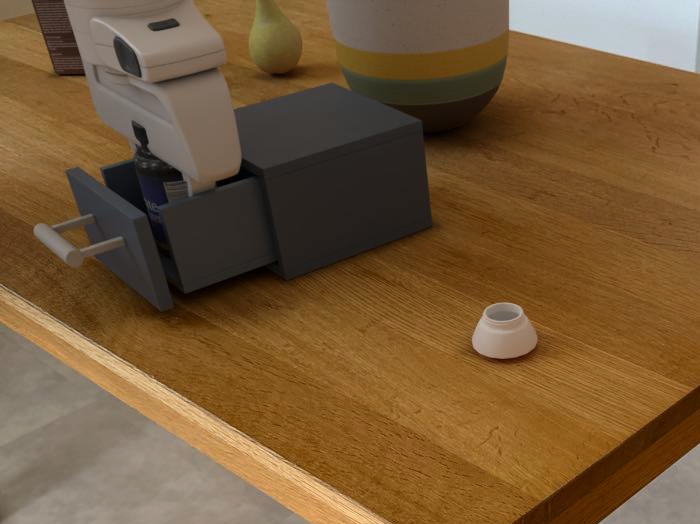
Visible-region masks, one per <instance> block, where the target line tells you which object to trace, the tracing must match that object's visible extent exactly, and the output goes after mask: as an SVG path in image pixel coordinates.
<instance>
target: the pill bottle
mask: <svg viewBox="0 0 700 524" xmlns="http://www.w3.org/2000/svg"><path fill="white" fill-rule="evenodd" d="M131 123H132V127H133V131H134V135H135V137H136V139H137V140H138V141H139V142H140V144H141V147H139V148H138V149H137V151H136V153H135V154H134V156H133V158H134V166H135V169H136V173H137V176H138V179H139V183H140V186H141V190H142V193H143V197H144V200H145V203H146V207H147V210H148V214H149V217H150V221H151V224H152V227H153V231H154V234H155V238H156V241H157V244H158V248H159V249H160V251H161V252H162V253H163V254H165V255H166V256H169V257H171V255H170V251H169V248H168V244H167V241H166V237H165V234H164V230H163V227H162V223H161V220H160V217H159V213H158V210H157V206H160V205H164V204H167V203H170V202H173V201H176V200H180V199H183V198H185V197H186V196H188V186H187V182H186V181H184V179H183V176H182V172H180V171H179V170H177V169H176V168H174V167H172V166H171V165H169V164H168V163H166V162H164V161H163V160H161V159H159V158H158V157H156V156H155V155H153V154H152V153H151V151H150V150H149V148H148V147H147V145H148V144H149V141H148V137H147V133H146V130H145V128H144V127H143V126H141V125H139V124H138V123H136V122H134V121H133V120H132V121H131ZM215 188H218V187H217V183H216V181H215V186H214V189H215Z"/></svg>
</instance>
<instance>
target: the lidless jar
mask: <svg viewBox="0 0 700 524" xmlns="http://www.w3.org/2000/svg"><path fill="white" fill-rule="evenodd" d="M538 339H539V338H538V334H537V331H536V329H535V327H534V326H533V324H532V323H531V320H530V319H529V317H528V316H527V315H526V314H525V312H524V309H523V308H522V307H521V306H519V305H518V304H515V303H513V302H496V303H493V304H490V305H489V306H488V305H487V307H486V308H485V309H484V310H483V313H482V316H481V317H480V319H479V321H478V323H477V325H476V327H475V330H474V331H473V333H472V335H471V343H472V348H473V349H474V350H475V351H476V352H477V353H478V354H480V355H483V356H485V357H487V358H492V359H500V360H501V359H502V360H504V359H513V358H518V357H521V356H524V355H526V354H528V353H530V352H531V351H532V350H534V349H535V348H536V346H537V344H538Z"/></svg>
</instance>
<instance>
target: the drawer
mask: <svg viewBox="0 0 700 524" xmlns="http://www.w3.org/2000/svg"><path fill="white" fill-rule="evenodd" d="M99 170H100V173H101V177H102V179H103V182H104V183H102V182H101V181H99V180H98V179H96V178H95V177H94V176H92V174H89V173H88V172H87V171H85V170H84V169H82V168H81V167H80V166H75V167H72V168H68V169H66V170H65V174H66V177H67V180H68V184H69V186H70V189H71V192H72V195H73V198H74V201H75V204H76V206H77V209H78V212H79V215H80V216H79V217H75V218H73V219H69V220H66V221H63V222H59V223H56V224H51V225H49V224H48V223H46V222H39V223H37V224H35V226H34V227H33V235H34V237H35V238H36V239H37V240H39V241H40V242H41V243H42V244H43V245H44V246H45V247H47V248H48V249H49V250H50V251H51V252H52V253H54V254H55V255H56V256H57V257H58V258H59V259H60V260H62V261H63V262H64V263H65V264H66V265H67V266H69V267H71V268H78V267H80V266H82V265H83V263H84V261H85V259H87V258H90V257H92V256H94V258H95V259H96V260H97V261H98V262H100V263H101V264H102V265H104V267H106V269H108V270H109V271H111V272H112V273H113V274H114V275H116V276H117V277H118V278H119V279H121V281H123V282H124V283H125V284H127V286H129V287H130V288H132V289H133V290H134V291H135V292H136V293H137V294H139V295H140V296H141V297H142V298H143V299H145V300H146V301H147V302H148V303H149V304H151V305H152V306H153V307H155V308H156V309H157V310H158V311H159V312H165V311H166V310H167V311H168V310H171V309H173V308H174V307H175V304H174V302H173V298H172V295H171V291H170V287H169V284H168V282H169V283H170V284H171V285H173V286H174V287H175V288H177V289H178V290H179V291H180V292H182V293H183V294H184V295H186V294H189V293H192V292H194V291H197V290H200V289H202V288H205V287H209V286H211V285H213V284H217V283H219V282H222V281H225V280H228V279H230V278H233V277H237V276H239V275H242V274H245V273H247V272H251V271H252V270H253V271H254V270H256V269H258V268H261V267H265V266H264V265H267V264H270V263H272V262H275V261H278V259H277V254H276V249H275V245H274V240H273V235H272V231H271V226H270V221H269V217H268V212H267V207H266V203H265V198H264V193H263V189H262V184H261V179H260V177H259V176H257V175H256V174H254V173H252V172H250V171H249V170H247V169H245V168H243V167H241V166H240V169H239V172H238V173H237V174H236V175H234V176H231V177H228V178H225V179H222V180H219V181H216V183H217V187H218V188H215V189H212V190H209V191H205V192H202V193H199V194H196V195H193V196H189V197H186V198H183V199H180V200H176V201H173V202H170V203H167V204H164V205H160V206H157V210H158V213H159V217H160V220H161V223H162V227H163V230H164V234H165V237H166V241H167V244H168V248H169V251H170V255H171V257H169V256H166V255H165V254H163V253H162V252H161V251H160V249H159V248H158V244H157V241H156V238H155V234H154V231H153V227H152V224H151V221H150V217H149V214H148V210H147V207H146V203H145V200H144V197H143V193H142V190H141V186H140V183H139V179H138V176H137V173H136V169H135V166H134V157H132V158H129V159H125V160H121V161H118V162H115V163H110V164H107V165H104V166H100V167H99ZM81 227H84V231H85V232H86V236H87V238H88V242H89V244H90V245H89V246H86V247H82V248H79V249H78V248H77V247H75V246H74V245H73V244H72V243H70V242H69V241H68V240H67V239H66V238H65V237H63V236H62V235H61V234H62V233H65V232H69V231H71V230H76V229H78V228H81Z"/></svg>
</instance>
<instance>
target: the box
mask: <svg viewBox="0 0 700 524" xmlns="http://www.w3.org/2000/svg"><path fill="white" fill-rule="evenodd" d="M30 1H31V3H32V7H33V10H34V13H35V16H36V20H37V22H38V25H39V29H40V31H41V34H42V37H43V40H44V43H45V46H46V50H47V52H48V56H49V58H50V59H49V60H50V62H51V65H52V68H53V71H54V74H55V75H77V74H78V75H79V74H80V75H81V74H82V75H86V74H85V70H84V66H83V62H82V58H81V55H80V52H79V49H78V45H77V42H76V39H75V36H74V32H73V29H72V26H71V23H70V20H69V16H68V13H67V10H66V7H65V4H64V0H30Z"/></svg>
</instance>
